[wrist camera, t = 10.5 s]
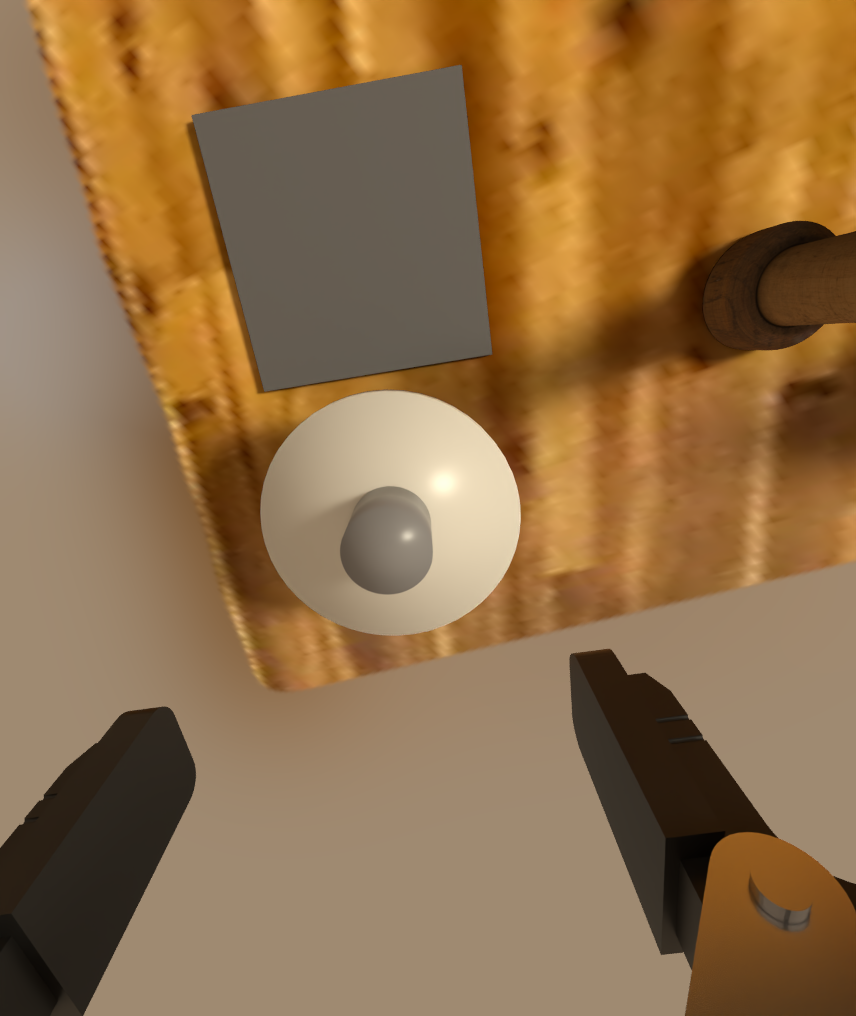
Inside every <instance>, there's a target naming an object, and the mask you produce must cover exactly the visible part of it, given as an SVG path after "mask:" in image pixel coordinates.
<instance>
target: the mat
mask: <svg viewBox="0 0 856 1016" xmlns="http://www.w3.org/2000/svg"><path fill="white" fill-rule="evenodd" d="M192 119H193V123H194V127H195V131H196V134H197V138H198V142H199V146H200V150H201V153H202V157H203V161H204V165H205V168H206V172H207V176H208V180H209V184H210V187H211V191H212V195H213V199H214V203H215V206H216V210H217V214H218V218H219V222H220V225H221V229H222V233H223V237H224V241H225V244H226V248H227V252H228V256H229V260H230V263H231V267H232V271H233V275H234V279H235V282H236V286H237V290H238V294H239V297H240V301H241V305H242V309H243V313H244V316H245V320H246V324H247V328H248V332H249V335H250V339H251V343H252V347H253V351H254V354H255V358H256V362H257V366H258V370H259V373H260V377H261V381H262V385H263V389H264V392H265V391H271V390H277V389H283V388H290V387H296V386H302V385H308V384H314V383H320V382H326V381H332V380H338V379H345V378H351V377H357V376H363V375H369V374H375V373H381V372H387V371H393V370H399V369H406V368H412V367H418V366H424V365H430V364H436V363H442V362H448V361H454V360H460V359H467V358H473V357H479V356H485V355H491V354H492V348H491V338H490V329H489V320H488V310H487V301H486V291H485V282H484V272H483V263H482V253H481V244H480V235H479V225H478V216H477V206H476V197H475V187H474V178H473V168H472V159H471V150H470V140H469V131H468V121H467V112H466V102H465V93H464V84H463V74H462V65H458V66H452V67H447V68H442V69H436V70H431V71H426V72H420V73H415V74H410V75H404V76H399V77H394V78H388V79H383V80H377V81H372V82H367V83H361V84H356V85H351V86H345V87H340V88H335V89H329V90H324V91H318V92H313V93H308V94H302V95H297V96H292V97H286V98H281V99H276V100H270V101H265V102H259V103H254V104H249V105H243V106H238V107H233V108H227V109H222V110H217V111H211V112H206V113H201V114H195V115H192Z"/></svg>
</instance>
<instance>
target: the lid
mask: <svg viewBox="0 0 856 1016" xmlns="http://www.w3.org/2000/svg"><path fill="white" fill-rule="evenodd" d="M260 516H261V528H262V533H263V537H264V542H265V545H266V548H267V551H268V553H269V556H270V559H271V561H272V563H273V565H274V566H275V568H276V570H277V572H278V574H279V575H280V577H281V578H282V579H283V581H284V582H285V584H286V585H287V586H288V587H289V588H290V590H291V591H292V592H293V593H294V594H295V595H296V596H297V597H298V598H299V599H300V600H301V601H302V602H304V603H305V604H306V605H307V606H308V607H309V608H311V609H312V610H314V611H315V612H317V613H318V614H320V615H321V616H323V617H325V618H327V619H329V620H331V621H333V622H335V623H336V624H339V625H342V626H344V627H347V628H350V629H353V630H357V631H361V632H365V633H370V634H378V635H408V634H416V633H421V632H426V631H430V630H433V629H436V628H439V627H442V626H444V625H447V624H449V623H451V622H453V621H455V620H457V619H459V618H461V617H462V616H464V615H465V614H467V613H469V612H470V611H471V610H473V609H474V608H475V607H476V606H478V605H479V604H480V603H481V602H483V601H484V599H485V598H486V597H487V596H488V595H489V594H490V593H491V592H492V591H493V590H494V589H495V587H496V586H497V585H498V583H499V582H500V581H501V579H502V578H503V576H504V574H505V572H506V571H507V569H508V567H509V565H510V563H511V560H512V558H513V555H514V553H515V550H516V546H517V542H518V538H519V531H520V521H521V515H520V501H519V495H518V489H517V486H516V483H515V479H514V476H513V473H512V471H511V469H510V467H509V465H508V463H507V461H506V459H505V457H504V455H503V454H502V452H501V451H500V449H499V448H498V446H497V445H496V443H495V442H494V441H493V439H492V438H491V437H490V436H489V435H488V434H487V433H486V432H485V430H484V429H483V428H482V427H481V426H480V425H479V424H477V423H476V422H475V421H474V420H473V419H472V418H470V417H469V416H468V415H467V414H465V413H463V412H462V411H460V410H459V409H457V408H456V407H454V406H452V405H450V404H448V403H446V402H444V401H441V400H439V399H437V398H434V397H431V396H428V395H424V394H421V393H416V392H410V391H404V390H376V391H367V392H363V393H359V394H354V395H350V396H348V397H345V398H342V399H340V400H337V401H335V402H333V403H331V404H329V405H327V406H326V407H324V408H322V409H320V410H318V411H317V412H315V413H314V414H312V415H311V416H310V417H309V418H307V419H306V420H305V421H303V422H302V423H301V424H300V425H299V426H298V427H297V428H296V429H295V430H294V431H293V432H292V433H291V434H290V435H289V436H288V437H287V438H286V440H285V441H284V442H283V444H282V445H281V446H280V448H279V449H278V451H277V453H276V454H275V456H274V458H273V460H272V462H271V464H270V466H269V469H268V472H267V475H266V477H265V480H264V485H263V490H262V495H261V508H260Z"/></svg>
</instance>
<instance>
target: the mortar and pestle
mask: <svg viewBox="0 0 856 1016" xmlns="http://www.w3.org/2000/svg"><path fill="white" fill-rule="evenodd" d="M703 313H704V318H705V321H706V324H707V327H708V329H709V330H710V332H711V333H712V335H713V336H714V337H715V338H716V339H717V340H718V341H719V342H721V343H722V344H724V345H726V346H728V347H731V348H735V349H740V350H778V349H783V348H787V347H790V346H793V345H795V344H798V343H800V342H802V341H803V340H805V339H807V338H808V337H810V336H811V335H812V334H814V333H815V332H816V331H817V330H818V329H819V328H821V327H822V326H823V324H835V323H856V231H855V232H851V233H847V234H843V235H839V236H835V235H834V234H833V233H832V232H831V231H830V230H829V229H827V228H826V227H824V226H822V225H820V224H817V223H814V222H809V221H793V222H787V223H783V224H780V225H777V226H773V227H770V228H767V229H763V230H760V231H757V232H755V233H753V234H750V235H748V236H746V237H745V238H743V239H741V240H740V241H738V242H737V243H735V244H734V245H733V246H732V247H731V248H730V249H728V250H727V251H726V252H725V253H724V255H723V256H722V257H721V258H720V259H719V261H718V262H717V263H716V265H715V267H714V268H713V270H712V272H711V274H710V276H709V278H708V281H707V283H706V287H705V291H704V296H703Z"/></svg>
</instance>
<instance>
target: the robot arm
mask: <svg viewBox="0 0 856 1016" xmlns="http://www.w3.org/2000/svg"><path fill="white" fill-rule="evenodd" d="M570 680H571V700H572V717H573V724H574V729H575V734H576V738H577V741H578V745H579V748H580V750H581V753H582V756H583V758H584V761H585V763H586V766H587V768H588V771H589V773H590V776H591V779H592V781H593V784H594V786H595V788H596V791H597V794H598V796H599V799H600V801H601V804H602V806H603V809H604V811H605V814H606V816H607V819H608V822H609V824H610V827H611V829H612V832H613V834H614V837H615V839H616V842H617V844H618V847H619V849H620V852H621V855H622V857H623V859H624V862H625V865H626V867H627V870H628V872H629V875H630V877H631V880H632V882H633V885H634V887H635V890H636V893H637V895H638V897H639V900H640V903H641V905H642V908H643V910H644V913H645V915H646V918H647V920H648V923H649V925H650V928H651V930H652V933H653V935H654V938H655V940H656V943H657V946H658V948H659V951H660V953H661V955H664V954H672V953H682V952H684V954H685V956H686V958H687V961H688V963H689V965H690V967H691V970H692V974H691V981H690V986H689V993H688V999H687V1005H686V1011H685V1016H856V884H854V883H850V882H847V881H845V880H842V879H839V878H837V877H835V876H832V875H831V874H830V873H829V871H828V870H826V869H825V868H824V867H823V866H822V865H821V864H820V863H819V862H818V861H816V860H815V859H814V858H812V857H811V856H809V855H808V854H807V853H805V852H804V851H802V850H800V849H799V848H797V847H795V846H794V845H792V844H790V843H788V842H785V841H783V840H781V839H779V838H778V837H777V836H776V835H775V834H774V833H773V832H772V831H771V829H770V828H769V827H768V826H767V825H766V823H765V822H764V820H763V819H762V817H761V816H760V815H759V813H758V812H757V811H756V809H755V808H754V807H753V805H752V803H751V802H750V801H749V800H748V798H747V797H746V795H745V794H744V792H743V791H742V790H741V788H740V787H739V785H738V784H737V783H736V781H735V780H734V778H733V777H732V776H731V774H730V773H729V771H728V770H727V769H726V767H725V766H724V765H723V763H722V762H721V760H720V759H719V758H718V756H717V755H716V753H715V752H714V751H713V749H712V748H711V746H710V745H709V744H708V742H707V741H706V740H705V741H704V739H703V737H702V734H701V733H700V731H699V730H698V728H697V727H696V726H695V724H694V723H693V721H692V720H689V718H688V715H687V713H686V712H685V710H684V709H683V708H682V706H681V705H680V703H679V702H678V701H677V699H676V698H675V696H674V695H673V694H672V692H671V691H670V690H669V689H667V688H666V687H664V686H663V685H662V684H660V683H659V682H657V681H656V680H655V679H653V678H652V677H650V676H649V675H648V674H646V673H641V674H633V675H627V673H626V671H625V670H624V668H623V667H622V665H621V663H620V662H619V660H618V659H617V657H616V655H615V654H614V653H613V651H612V650H610V649H603V650H596V651H588V652H580V653H573V654H571V655H570ZM195 779H196V770H195V764H194V761H193V758H192V756H191V753H190V751H189V749H188V746H187V744H186V741H185V739H184V737H183V735H182V732H181V729H180V727H179V725H178V722H177V720H176V717H175V715H174V713H173V711H172V710H171V709H170V708H168V707H158V708H149V709H143V710H134V711H128V712H125V713H123V714H122V715H120V716H119V717H118V719H117V720H116V721H115V722H114V723H113V725H112V726H111V727H110V729H109V730H108V731H107V732H106V734H105V735H104V736H103V737H102V739H101V740H100V741H99V742H98V743H96V744H94V745H93V746H92V747H91V748H89V749H88V750H87V751H86V752H85V753H83V754H82V755H81V756H80V757H79V758H78V759H76V760H75V761H74V762H73V763H71V764H70V765H69V766H68V767H67V768H66V769H65V770H64V771H63V773H62V774H61V775H60V776H59V777H58V778H57V780H56V781H55V782H54V783H53V785H52V786H51V787H50V788H49V789H48V791H47V792H46V793H45V794H44V799H43V800H41V801H39V802H38V803H37V804H36V805H35V806H34V808H33V809H32V810H31V811H30V812H29V814H28V815H27V816H26V817H25V822H24V824H22V825H19V826H18V827H17V828H16V829H15V831H14V832H13V833H12V834H11V836H10V837H9V838H8V839H7V840H6V842H5V843H4V844H3V845H2V847H1V848H0V1016H83V1015H84V1013H85V1011H86V1009H87V1007H88V1005H89V1002H90V1001H91V998H92V997H93V995H94V993H95V990H96V988H97V986H98V985H99V982H100V980H101V978H102V976H103V974H104V972H105V970H106V968H107V966H108V964H109V962H110V960H111V958H112V956H113V954H114V952H115V950H116V948H117V946H118V944H119V942H120V940H121V938H122V936H123V934H124V932H125V930H126V928H127V926H128V924H129V922H130V920H131V918H132V916H133V914H134V912H135V910H136V908H137V906H138V904H139V902H140V900H141V898H142V896H143V894H144V892H145V889H146V888H147V886H148V884H149V882H150V880H151V878H152V876H153V874H154V872H155V870H156V867H157V866H158V863H159V861H160V860H161V858H162V855H163V853H164V851H165V849H166V847H167V845H168V843H169V841H170V839H171V837H172V835H173V833H174V831H175V829H176V827H177V825H178V823H179V821H180V819H181V817H182V815H183V813H184V811H185V809H186V807H187V805H188V803H189V801H190V799H191V797H192V794H193V791H194V786H195Z"/></svg>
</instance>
